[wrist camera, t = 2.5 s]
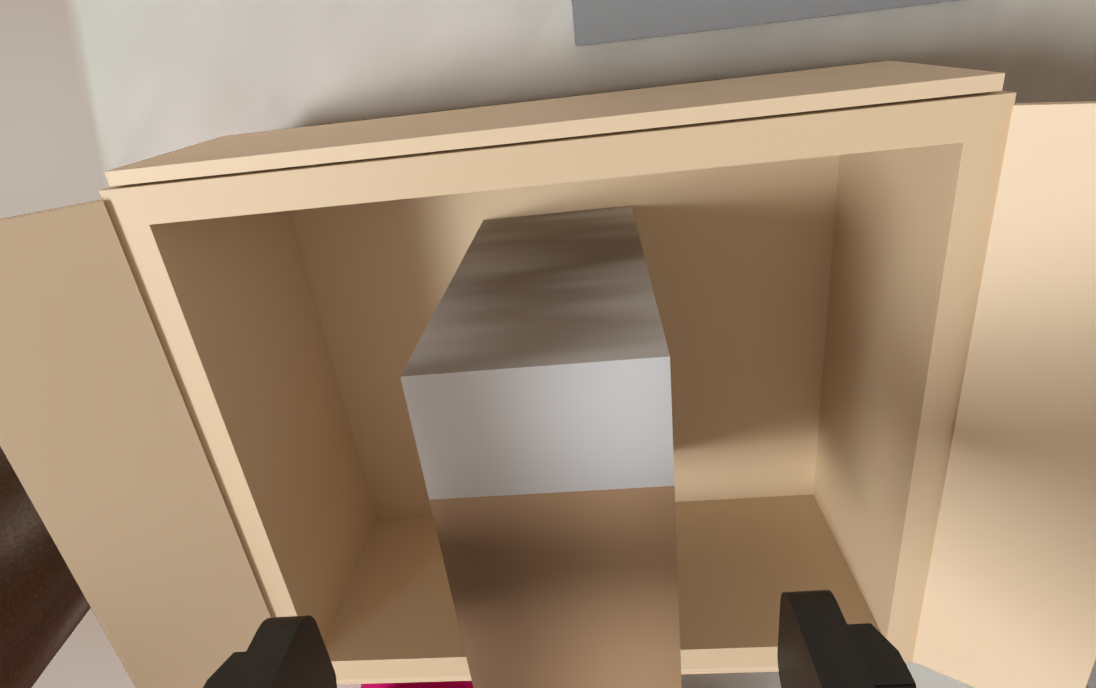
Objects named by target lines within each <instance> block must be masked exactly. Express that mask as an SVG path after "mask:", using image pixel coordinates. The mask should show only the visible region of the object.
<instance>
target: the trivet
mask: <svg viewBox="0 0 1096 688" xmlns="http://www.w3.org/2000/svg"><path fill="white" fill-rule="evenodd" d="M948 1H956V0H572V7H573V19H574V31H575V42H576V46H583V45H591V44H599V43H608V42H616V41H624V40H633V39H641V38H649V37H657V36H666V35H674V34H682V33H691V32H699V31H707V30H715V29H724V28H732V27H740V26H749V25H757V24H765V23H773V22H782V21H790V20H798V19H807V18H815V17H823V16H831V15H840V14H848V13H856V12H865V11H873V10H881V9H889V8H898V7H906V6H914V5H923V4H931V3H939V2H948Z"/></svg>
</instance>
